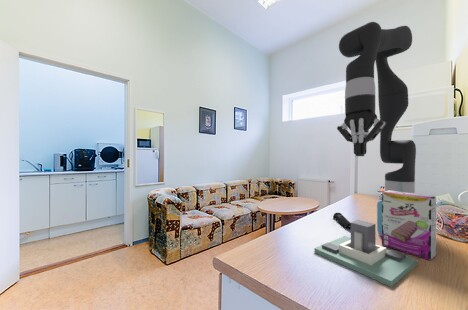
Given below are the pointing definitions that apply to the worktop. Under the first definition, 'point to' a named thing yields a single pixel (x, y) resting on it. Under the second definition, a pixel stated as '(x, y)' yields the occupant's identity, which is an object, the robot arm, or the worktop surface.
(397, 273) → the board
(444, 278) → the worktop surface
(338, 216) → the electric trimmer
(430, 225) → the candy bar box
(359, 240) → the plug
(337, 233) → the worktop surface
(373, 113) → the robot arm
